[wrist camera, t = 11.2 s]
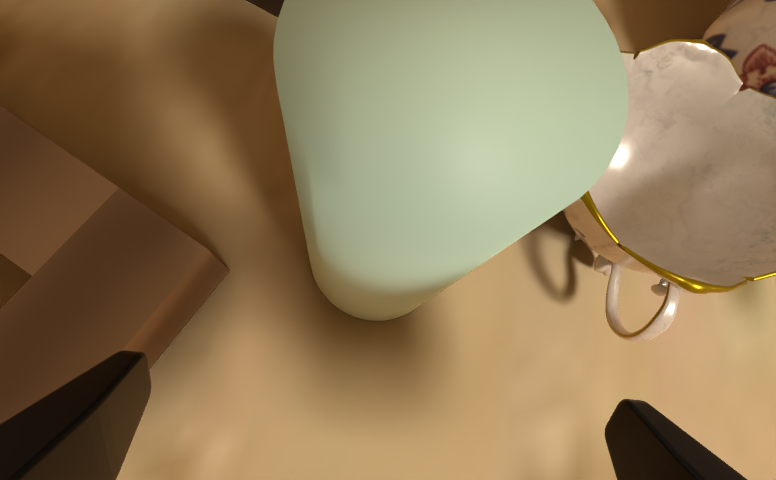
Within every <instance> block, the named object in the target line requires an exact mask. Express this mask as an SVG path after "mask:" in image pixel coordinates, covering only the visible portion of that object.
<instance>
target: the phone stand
mask: <svg viewBox="0 0 776 480" xmlns="http://www.w3.org/2000/svg"><path fill="white" fill-rule="evenodd" d="M247 1H248V2H250V3H252V4H254V5H256V6H258V7H260V8H261V9H263V10H265V11H267V12H269V13H271V14H273V15H274V16H276V17H279V14H280V11H281V9H282V6H283V3H284V1H285V0H247Z"/></svg>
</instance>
